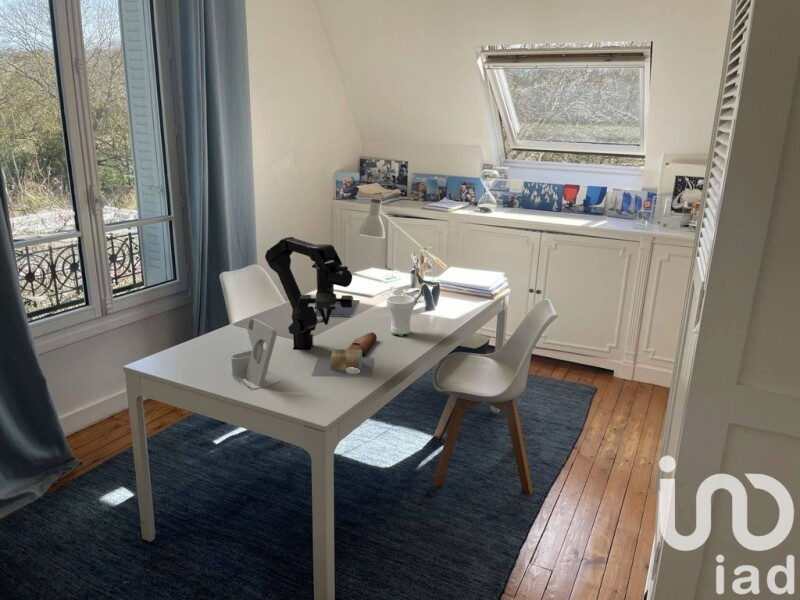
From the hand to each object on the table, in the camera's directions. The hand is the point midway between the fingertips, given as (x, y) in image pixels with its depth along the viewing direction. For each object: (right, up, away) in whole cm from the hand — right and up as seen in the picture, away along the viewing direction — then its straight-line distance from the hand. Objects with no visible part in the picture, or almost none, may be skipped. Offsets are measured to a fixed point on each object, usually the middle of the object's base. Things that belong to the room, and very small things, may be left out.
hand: (326, 324), depth 212 cm
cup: (+26, -5, +26) cm, 37 cm away
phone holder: (-21, -17, -14) cm, 31 cm away
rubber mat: (+7, -14, -6) cm, 17 cm away
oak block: (+3, -12, -7) cm, 14 cm away
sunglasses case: (+11, -10, +12) cm, 19 cm away
